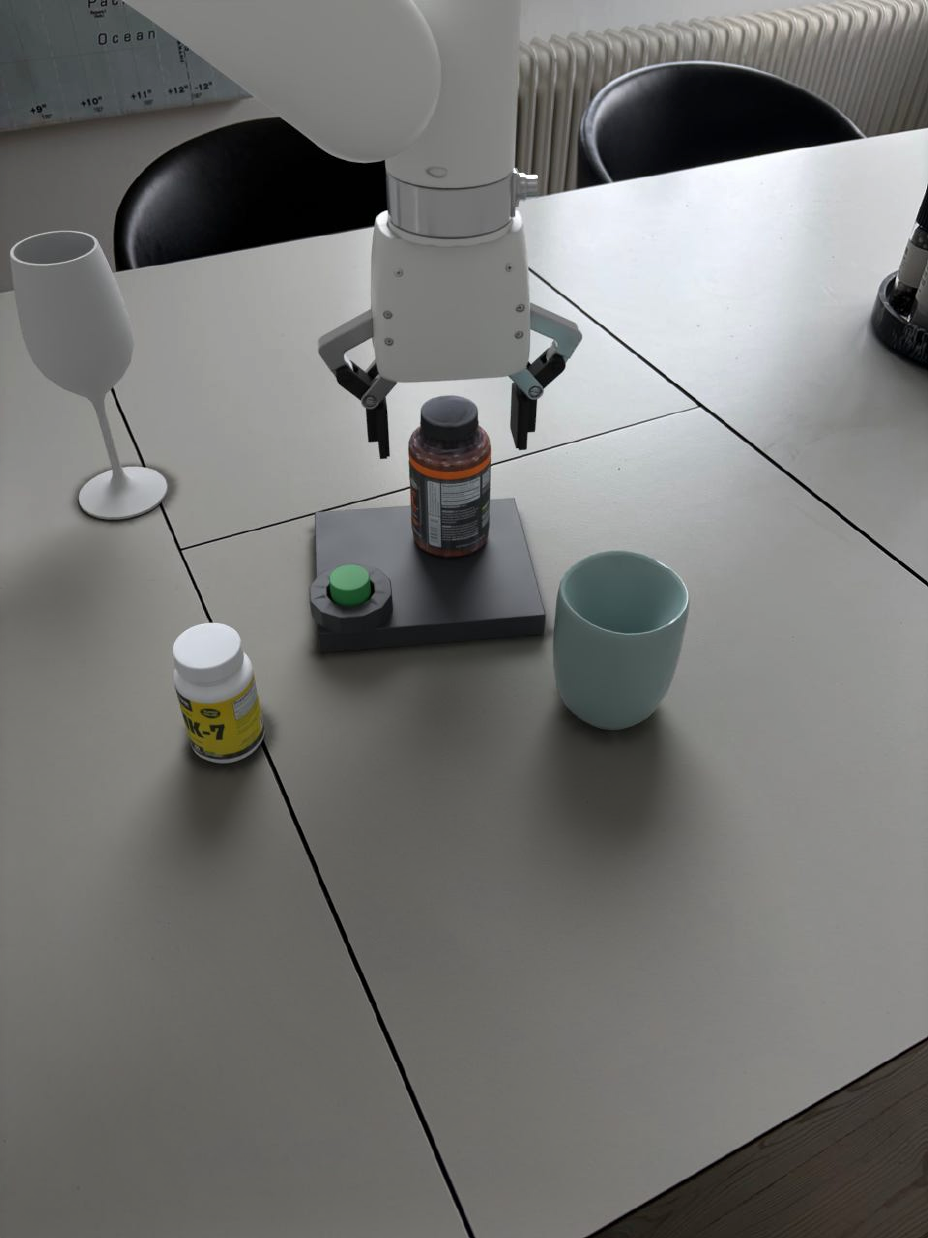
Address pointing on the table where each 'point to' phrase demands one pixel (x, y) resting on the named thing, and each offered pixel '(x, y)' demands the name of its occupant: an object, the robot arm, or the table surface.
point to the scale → (423, 582)
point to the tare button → (350, 585)
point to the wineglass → (82, 349)
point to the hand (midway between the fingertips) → (451, 443)
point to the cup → (617, 637)
